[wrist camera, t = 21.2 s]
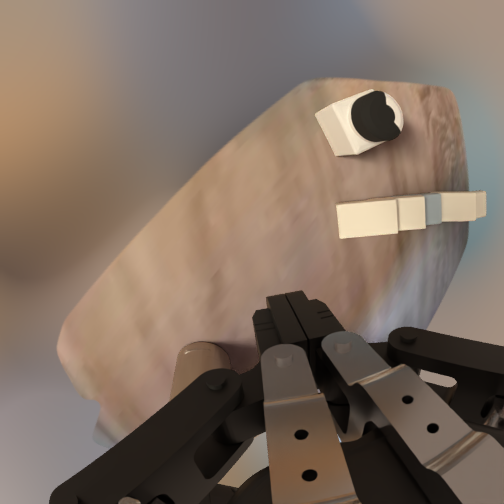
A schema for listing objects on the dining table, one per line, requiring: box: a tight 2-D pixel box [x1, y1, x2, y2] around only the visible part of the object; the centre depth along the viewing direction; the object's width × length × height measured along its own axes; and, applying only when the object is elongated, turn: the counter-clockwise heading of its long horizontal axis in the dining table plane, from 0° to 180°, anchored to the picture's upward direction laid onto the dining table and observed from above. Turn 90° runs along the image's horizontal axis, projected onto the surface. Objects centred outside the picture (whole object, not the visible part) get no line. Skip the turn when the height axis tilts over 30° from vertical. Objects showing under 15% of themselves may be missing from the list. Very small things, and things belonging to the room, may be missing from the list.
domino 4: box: [430, 192, 476, 221], centre depth 40 cm, size 5×2×9 cm
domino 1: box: [336, 198, 398, 239], centre depth 39 cm, size 5×2×9 cm
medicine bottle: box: [315, 89, 403, 157], centre depth 32 cm, size 7×7×12 cm
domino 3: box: [391, 193, 442, 225], centre depth 40 cm, size 5×2×9 cm
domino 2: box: [368, 195, 426, 231], centre depth 39 cm, size 5×2×9 cm
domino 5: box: [459, 190, 486, 222], centre depth 41 cm, size 5×2×9 cm
